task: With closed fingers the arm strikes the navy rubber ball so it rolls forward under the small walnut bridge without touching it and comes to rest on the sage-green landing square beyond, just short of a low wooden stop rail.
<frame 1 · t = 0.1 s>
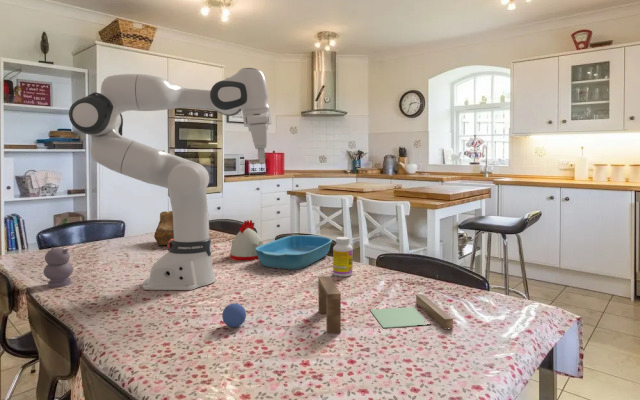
hand: (262, 162, 139), 39 cm above the table, fingers open, 8 cm apart
stopper wall: (432, 315, 109), on the table
kitchen timer: (247, 257, 175), on the table
supplement bottle: (342, 275, 147), on the table
casserole dish: (295, 261, 169), on the table
ball: (234, 315, 102), on the table
cat figurine: (59, 285, 138), on the table
bridge: (328, 321, 106), on the table
rough brown rock: (172, 245, 200), on the table
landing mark: (399, 317, 108), on the table
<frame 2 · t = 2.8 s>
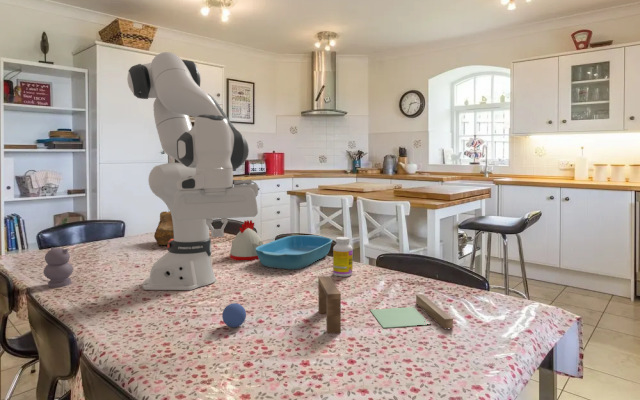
hand: (217, 236, 106), 21 cm above the table, fingers closed
nothing on the table moved.
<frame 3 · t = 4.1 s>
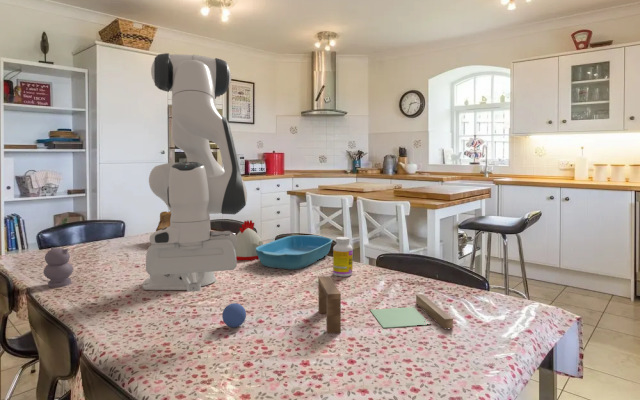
hand: (194, 290, 100), 9 cm above the table, fingers closed
nothing on the table moved.
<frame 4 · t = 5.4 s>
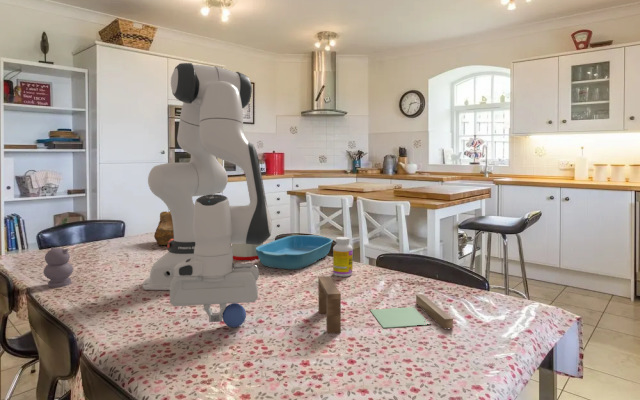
hand: (215, 321, 101), 2 cm above the table, fingers closed
ball: (234, 315, 102), on the table, touching gripper
everything else where it was.
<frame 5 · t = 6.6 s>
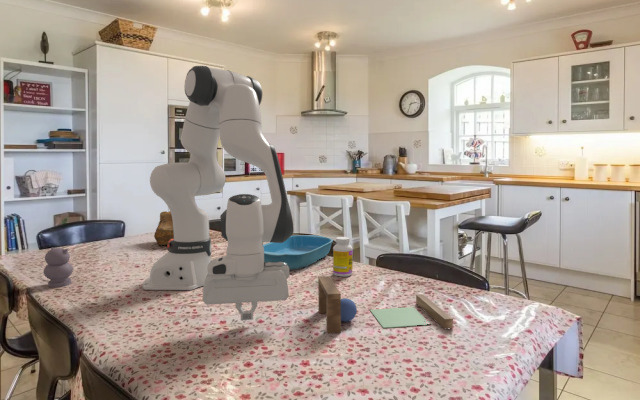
hand: (247, 319, 103), 2 cm above the table, fingers closed
ball: (345, 309, 105), on the table
everything else where it was.
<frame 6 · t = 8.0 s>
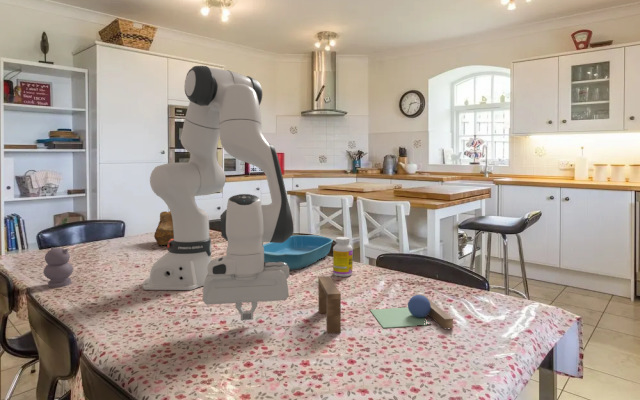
hand: (247, 319, 103), 2 cm above the table, fingers closed
ball: (419, 306, 108), on the table
everything else where it was.
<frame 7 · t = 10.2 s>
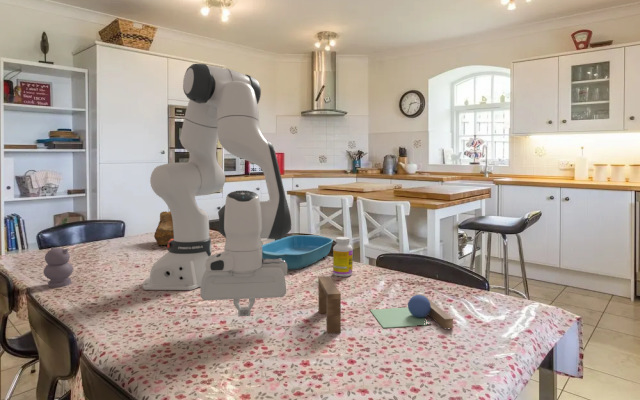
hand: (244, 315, 103), 2 cm above the table, fingers closed
nothing on the table moved.
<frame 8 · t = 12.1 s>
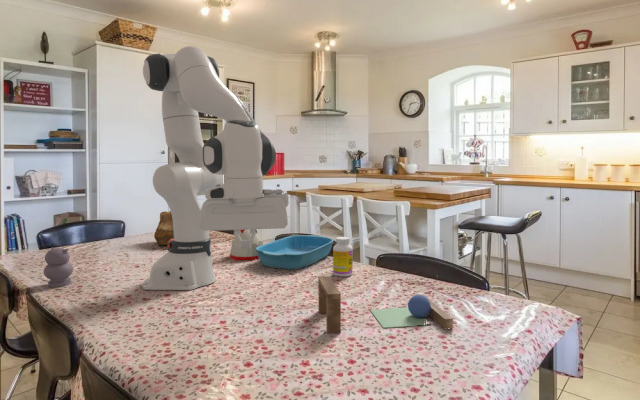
hand: (245, 248, 101), 19 cm above the table, fingers closed
nothing on the table moved.
at the end: ball 5.1 cm from the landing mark (horizontally); ball never touched bridge; ball at rest at the end (0.0 cm/s) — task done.
